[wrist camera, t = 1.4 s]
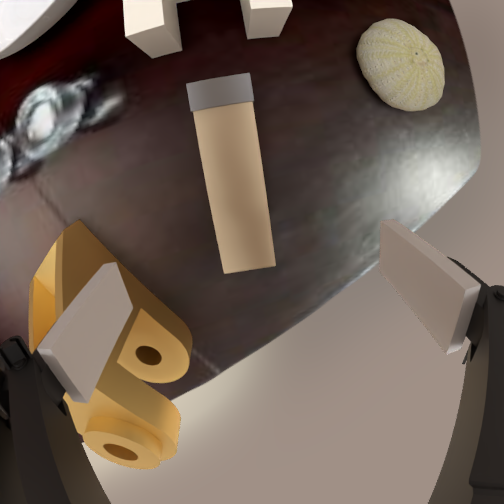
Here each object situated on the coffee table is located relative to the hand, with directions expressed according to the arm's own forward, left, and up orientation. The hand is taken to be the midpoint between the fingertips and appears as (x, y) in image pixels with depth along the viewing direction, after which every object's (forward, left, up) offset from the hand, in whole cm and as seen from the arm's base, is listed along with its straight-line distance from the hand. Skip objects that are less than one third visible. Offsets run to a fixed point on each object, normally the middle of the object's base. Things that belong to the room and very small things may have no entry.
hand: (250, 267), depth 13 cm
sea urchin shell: (+17, +9, -14) cm, 24 cm away
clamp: (-16, -10, -14) cm, 23 cm away
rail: (0, +3, -14) cm, 14 cm away
